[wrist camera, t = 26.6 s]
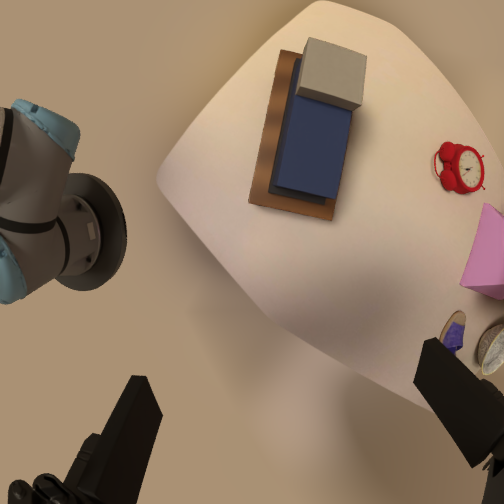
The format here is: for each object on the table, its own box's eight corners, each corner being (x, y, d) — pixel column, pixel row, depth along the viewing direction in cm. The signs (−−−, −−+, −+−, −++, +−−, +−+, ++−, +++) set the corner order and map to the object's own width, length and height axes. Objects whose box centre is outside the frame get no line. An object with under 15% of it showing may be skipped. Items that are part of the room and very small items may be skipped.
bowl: (460, 353, 53) (475, 367, 46) (492, 305, 50) (509, 316, 42) (478, 367, 55) (490, 380, 48) (506, 325, 52) (520, 336, 45)
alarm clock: (488, 196, 39) (455, 193, 36) (466, 194, 45) (430, 191, 42) (486, 148, 37) (452, 134, 33) (465, 148, 43) (427, 137, 39)
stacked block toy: (320, 204, 37) (345, 211, 27) (267, 192, 36) (274, 194, 27) (343, 77, 32) (369, 50, 22) (294, 63, 32) (307, 30, 22)
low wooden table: (320, 215, 44) (331, 221, 37) (248, 200, 43) (248, 203, 37) (344, 84, 38) (357, 71, 32) (276, 65, 37) (280, 49, 31)
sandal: (470, 314, 50) (506, 341, 35) (431, 379, 54) (458, 413, 40) (454, 307, 49) (493, 336, 34) (412, 376, 53) (440, 414, 39)
